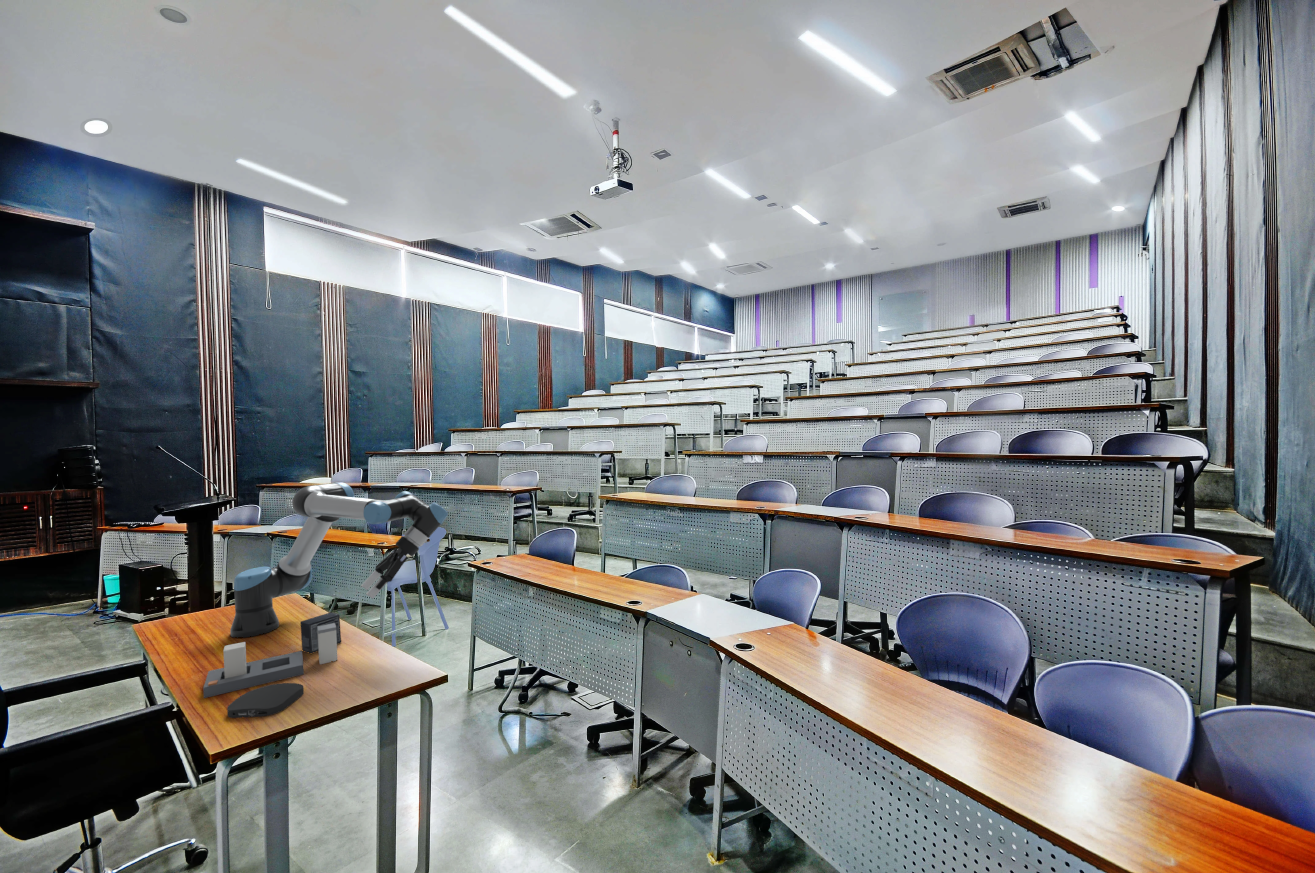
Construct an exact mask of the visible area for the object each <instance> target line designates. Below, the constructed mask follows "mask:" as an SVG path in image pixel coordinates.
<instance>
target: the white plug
mask: <svg viewBox="0 0 1315 873" xmlns="http://www.w3.org/2000/svg"><path fill="white" fill-rule="evenodd" d="M317 629H318V651H317V653H318V662H319V665H323V664H328V663H332V662H331V661H333V662H337V661H338V644H337V636H336V625H335V623H332V624H327V625H322V626H317ZM336 660H337V661H336Z"/></svg>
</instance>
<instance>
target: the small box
mask: <svg viewBox="0 0 1315 873" xmlns="http://www.w3.org/2000/svg"><path fill="white" fill-rule="evenodd" d="M340 621H341V620H340V613H335V612H327V613H324V614H320V615H318V616H313V617H311V618H308V619H304V620H300V624H299V625H300V632H301V633H300V637H301V638H300V640H301V651H302V650H303V651H302V652H304V651H305V653H307V652H309V653H308V654H310V653H312V654H314V653H313V652H315V653H318V629H317V626H322V625H327V624H332V623H335V625H336V636H337V645H339V644H342V636H341V633H342V632H341V622H340Z"/></svg>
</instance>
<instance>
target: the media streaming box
mask: <svg viewBox="0 0 1315 873" xmlns="http://www.w3.org/2000/svg"><path fill="white" fill-rule="evenodd" d="M304 693H305V688H304V685H303V684H301V683H297V682H296V683H295V682H281V683H273V684H267V685H264V686H261V687H258V688H254V689H251V690H249V691H247V692H245V693H243V694H241V695H240V696H239V697H237V698H236V699H235V700H233V701H232V702H231V703H230V704H229V705H228V706H227V708H226V710H227V717H228V718H230V719H241V718H242V717H244V718H257V717H258V718H259V717H260V718H262V717H267V716H268V717H269V716H272V715H276V714H278V713H281V712H283V711H284V710H286V709H287V708H288V707H290V706H291V705H293V703H295V702H296V701H297V700H298V699H300V698H301V697H302V696H304Z"/></svg>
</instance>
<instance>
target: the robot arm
mask: <svg viewBox="0 0 1315 873" xmlns="http://www.w3.org/2000/svg"><path fill="white" fill-rule="evenodd" d="M291 504H292V508H293V510H294V511H295V512H296V514H298V515H299V516H301V517H305V518H306V517H307V519H306V520H305V522H304V524H303V525H302V528H301V529H300V531H299V533H298V535H297V536H296V539H295V541H294V542H293V544H292V547H291V548H290V550H289V552H288V553H287V555H284V556H283V557H281V558H280V559H279V561H278V563H277V564H276V566H275V567H270V566H257V567H255V568H248V569H246V570H244V571H242V572H239V573H238V574H236V576H235V577H234V581H233V591H234V593H233V594H234V608H235V611H234V612H235V613H234V618H233V621H232V624H231V626H230V637H231V638H235V637H237V639H238V637H243V638H251V637H256V636H260V635H259V634H261V635H263V633H264V634H267V633H270V632H272V630H273V631H275V630H277V629H278V628H279V626H280V621H279V617H278V615H277V613H276V611H275V609H274V607H273V599H275V598H278V597H282V596H285V595H288V594H289V595H290V594H292V593H296V592H299V591H301V590H303V589H305V588H307V587H308V586H309V585H310V584H311V581H312V579H313V574H312V573H314V572H313V568H312V564H311V561H312V560H313V558H314V556H315V554H316V552H317V550H319V547H320V545H321V544H322V542H323V539H324V538H325V536H326V535H327V532H328V531H329V530H330V527H331V525H332V524H333V523H335V522H336V523H337V521H339V520H340V518H344V519H351V520H359V521H360V520H361V521H366V522H368V524H370V525H378V524H379V525H380V524H385V523H389V522H393V521H398V520H401V519H406V518H407V519H409V520H411V521H413V524H412V525H410V527H408V529H407V530H406V531H405V532H404V533H403V535H404V536H401V537H400V538H399V539H398V540H397V541H396V542H395V546H397V547H398V548H396V547H395V548H394V549H393V550H392V551H391V552H390V553H389V554H388V555H387V556H385V557H384V559H382V560H381V561H380V562H379V563H377V564H376V565H375V569H374V571H372V573H371V574H370V575H369V576H368V577H367V578H366V579H365V580H364V582H362V583H361V585H360V587H362V588H363V589H364V590H365V591H367V592H366V593H365V595H367V596H368V597H370V599H373V600H374V599H375V597H376V596H377V595H378V594H379V593H380V591H381V590H382V589H383V588H384V587H385V586H386V584H388V583H389V582H392V581H393V579H394V578H395V576H396V575H397V574H398V572H399V571H400V569H401V568H402V566H403V565H404V564H405V563H406V561H407V560H408V558H409V556H410V557H414V556H415V554H417V552H418V551H419V550H420V548H419V547H422V546H424V545H425V544H427V543H428V541H427V540H429V538H430V537H431V536H432V534H433V533H435V532H436V531H437V529H438V528H440V526H441V525H442V524H443V523H444V521H445V520H447V517H448V516H449V513H448V511H447V510H446V509H445V508H443V507H442V506H441V505H439V503H436V502H431V503H430V504H427V503H426V502H425V501H423V500H422V499H421V498H419V497H418V496H416V495H415V494H413V493H412V492H410V491H406V490H405V491H404V490H403V491H401V492H400V493H398V494H397V495H396V496H395V497H394V498H391V499H385V500H384V499H383V500H382V499H373V498H364V497H363V498H361V497H356V496H355V493H354V490H353V489H352V487H351V486H350V485H349V484H348V483H345V482H332V483H322V484H316V485H315V484H313V485H308V486H304V487H302V488H301V489H299V490H297V492H296V493H295V494H294V496H293V497H292V502H291ZM407 555H409V556H407ZM274 629H275V630H274ZM250 636H251V637H250Z"/></svg>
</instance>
